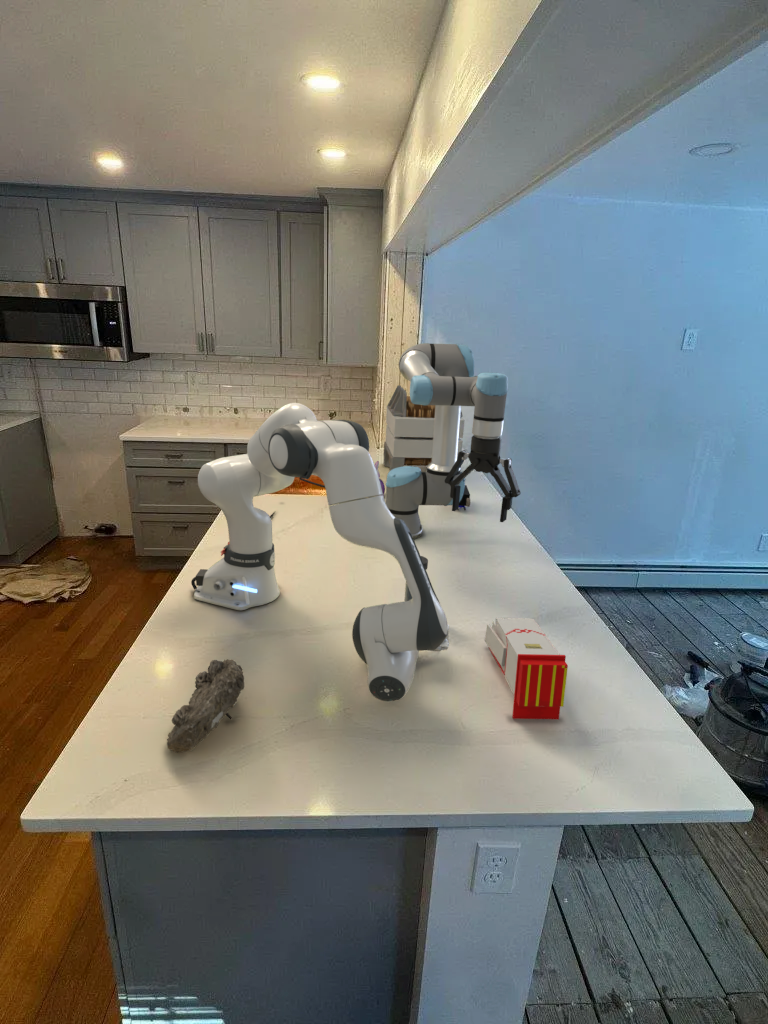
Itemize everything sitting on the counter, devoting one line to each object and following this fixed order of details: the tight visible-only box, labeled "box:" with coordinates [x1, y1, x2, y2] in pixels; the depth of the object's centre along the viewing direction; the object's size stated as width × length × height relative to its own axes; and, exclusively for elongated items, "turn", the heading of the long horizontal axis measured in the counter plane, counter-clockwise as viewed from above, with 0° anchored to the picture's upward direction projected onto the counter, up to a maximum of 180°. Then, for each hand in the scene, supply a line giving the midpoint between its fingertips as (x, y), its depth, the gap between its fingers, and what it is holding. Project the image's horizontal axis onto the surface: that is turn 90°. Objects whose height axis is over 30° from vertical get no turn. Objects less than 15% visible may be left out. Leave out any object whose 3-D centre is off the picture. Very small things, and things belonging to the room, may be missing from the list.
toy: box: [484, 617, 569, 720], centre depth 122 cm, size 12×13×30 cm
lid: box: [420, 555, 429, 570], centre depth 143 cm, size 6×6×2 cm
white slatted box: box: [383, 384, 465, 472], centre depth 268 cm, size 34×33×41 cm
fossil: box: [166, 658, 245, 754], centre depth 106 cm, size 22×10×15 cm
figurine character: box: [457, 484, 471, 512], centre depth 229 cm, size 7×8×15 cm
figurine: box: [374, 460, 386, 497], centre depth 235 cm, size 9×10×15 cm
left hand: (408, 613), depth 135 cm, fingers open, 8 cm apart
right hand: (478, 515), depth 150 cm, fingers open, 13 cm apart
